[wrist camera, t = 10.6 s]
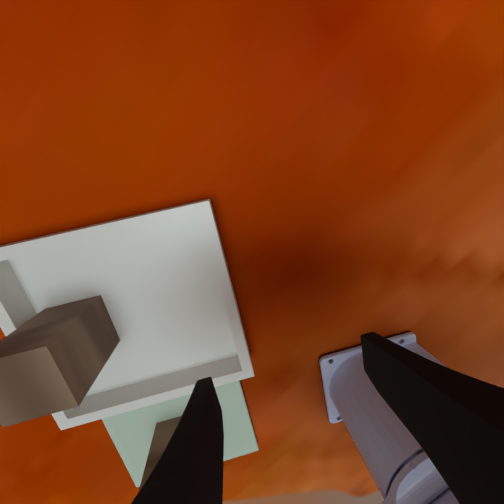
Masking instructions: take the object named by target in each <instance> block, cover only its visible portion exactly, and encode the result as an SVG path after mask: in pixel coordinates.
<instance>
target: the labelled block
mask: <svg viewBox="0 0 504 504" xmlns="http://www.w3.org/2000/svg"><path fill="white" fill-rule="evenodd" d="M180 419H181V416H180V417H176V418H172V419H169V420H165V421H161V422H158V423H156V426H155V430H154V434H153V438H152V442H151V446H150V450H149V453H148V457H147V461H146V465H145V469H144V473H143V477H142V480H141V484H140V488H139V491H140V490H141V488H142V487H143V485H144V484H145V482H146V480H147V479H148V477H149V476H150V474H151V472H152V471H153V469H154V467H155V466H156V464H157V462H158V461H159V459H160V457H161V455H162V454H163V452H164V450H165V448H166V446H167V444H168V442H169V440H170V439H171V437H172V435H173V433H174V431H175V429H176V427H177V425H178V423H179V421H180ZM138 493H139V492H138Z"/></svg>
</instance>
